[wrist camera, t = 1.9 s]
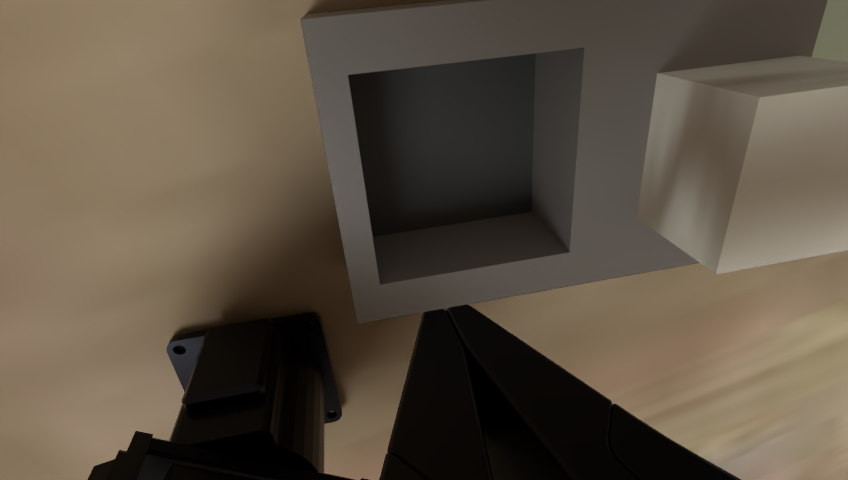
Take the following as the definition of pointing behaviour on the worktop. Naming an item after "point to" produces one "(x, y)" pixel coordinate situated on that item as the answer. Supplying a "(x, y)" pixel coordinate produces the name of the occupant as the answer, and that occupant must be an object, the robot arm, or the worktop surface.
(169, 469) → the robot arm
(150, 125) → the worktop surface
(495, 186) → the trap deck
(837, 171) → the cream block
